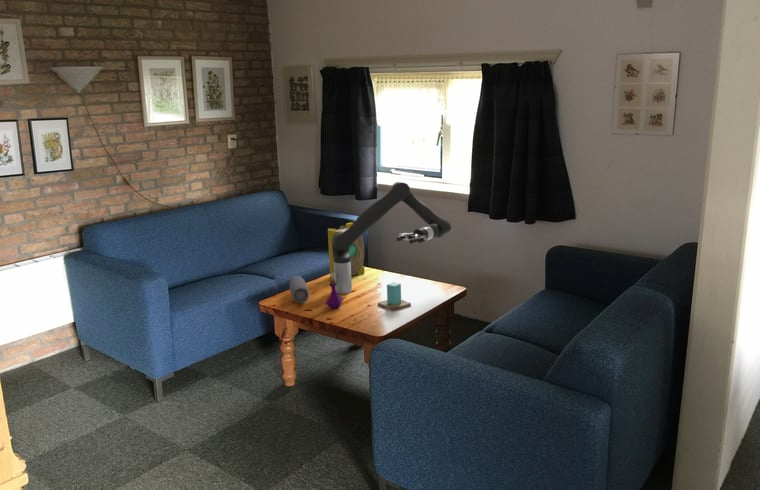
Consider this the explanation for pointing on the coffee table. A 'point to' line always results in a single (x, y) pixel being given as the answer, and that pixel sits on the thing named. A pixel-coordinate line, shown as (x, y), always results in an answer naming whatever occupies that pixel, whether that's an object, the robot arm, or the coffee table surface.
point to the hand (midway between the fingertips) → (403, 240)
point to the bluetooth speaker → (298, 289)
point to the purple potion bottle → (333, 295)
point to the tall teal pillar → (393, 293)
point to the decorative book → (354, 249)
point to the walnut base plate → (394, 307)
